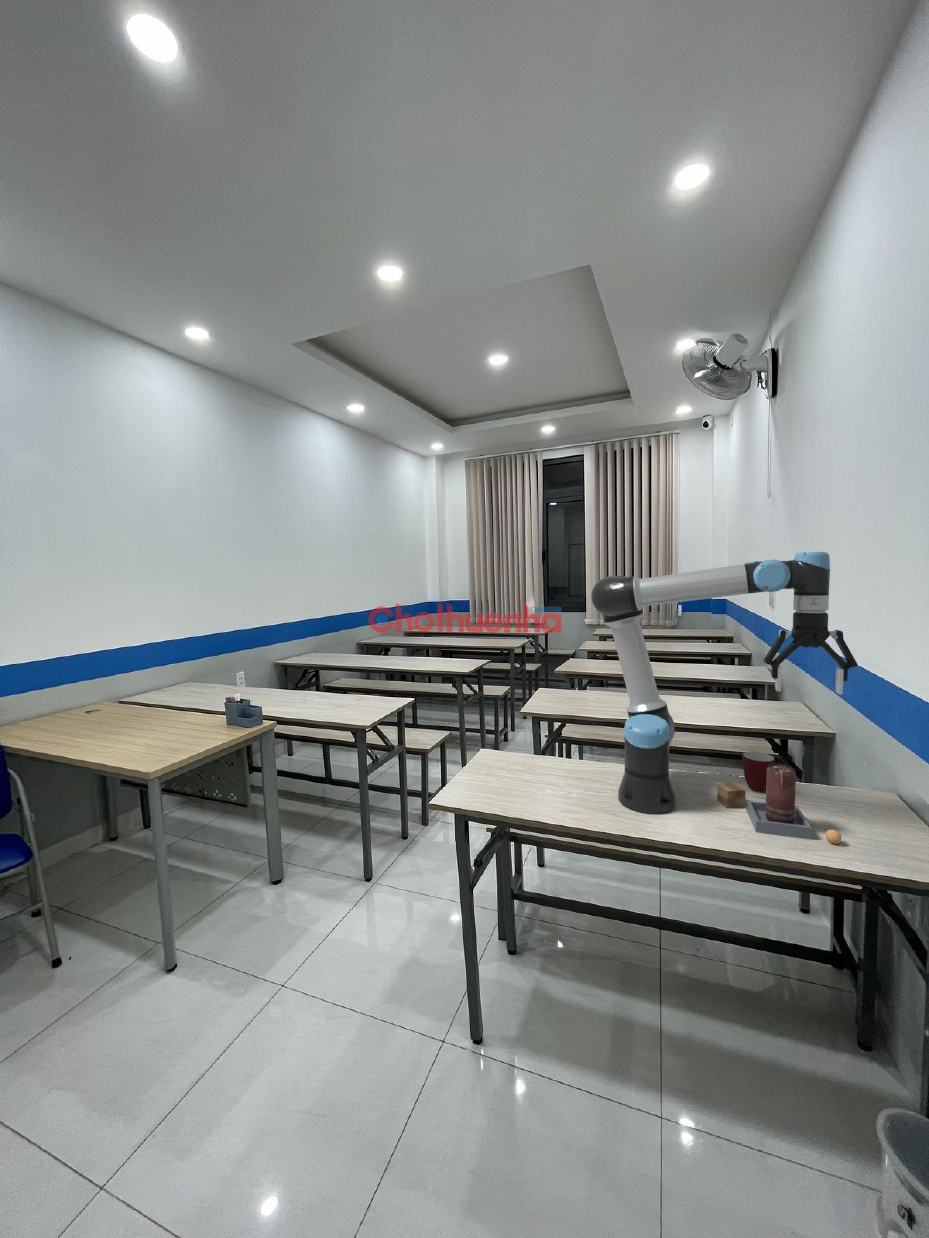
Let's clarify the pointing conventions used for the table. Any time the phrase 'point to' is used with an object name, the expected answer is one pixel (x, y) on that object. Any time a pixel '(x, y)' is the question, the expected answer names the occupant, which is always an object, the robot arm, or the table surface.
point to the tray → (764, 826)
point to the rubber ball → (833, 836)
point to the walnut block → (731, 795)
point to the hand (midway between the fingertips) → (807, 691)
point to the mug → (756, 769)
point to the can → (780, 794)
